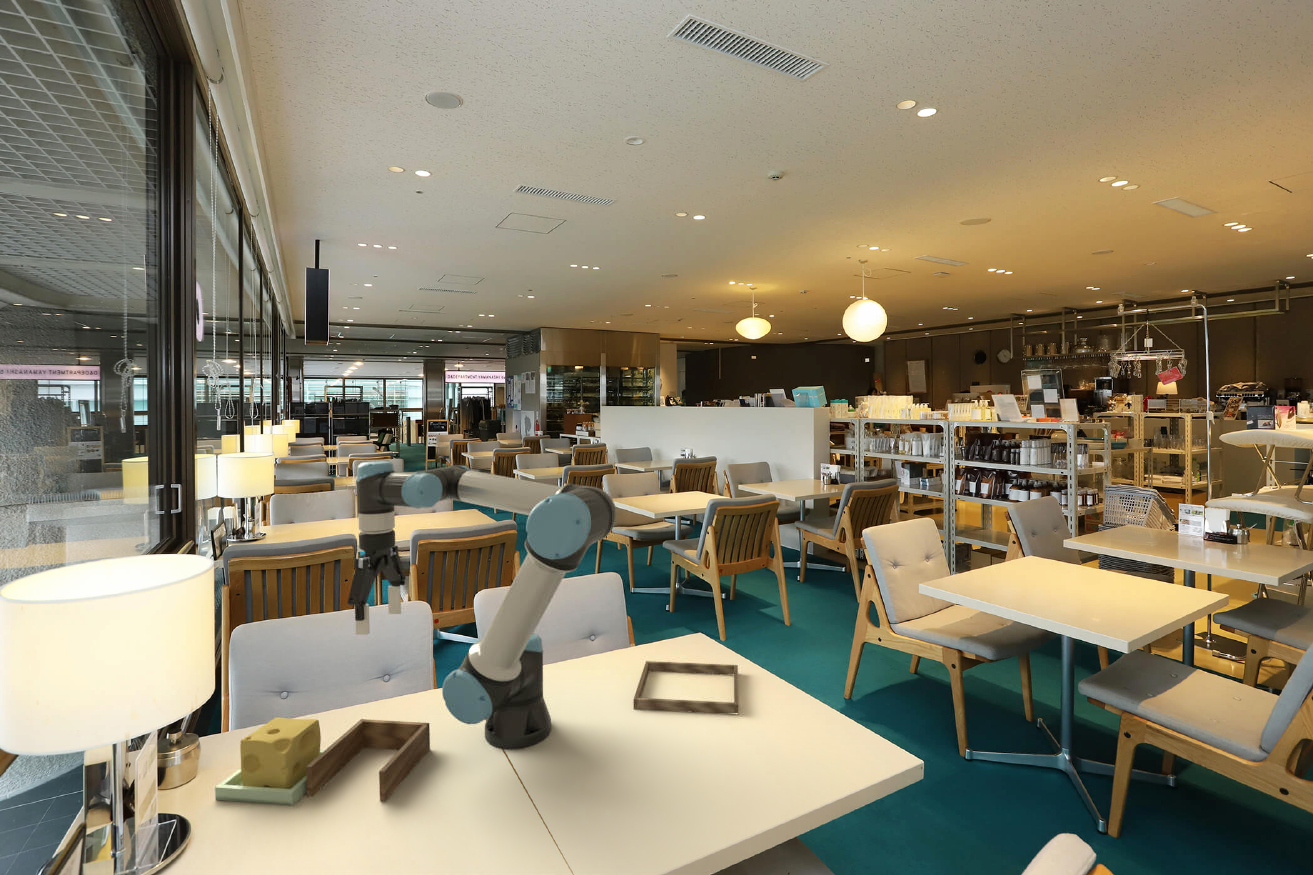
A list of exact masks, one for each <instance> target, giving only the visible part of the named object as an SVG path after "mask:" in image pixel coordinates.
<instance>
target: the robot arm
mask: <svg viewBox="0 0 1313 875" xmlns="http://www.w3.org/2000/svg"><path fill="white" fill-rule="evenodd" d="M355 483H356V487H357V490H356V491H357V512H358V516H357V519H358V530H359V531H360V532H359V533H358V548H359V549H360V550H361V551H363V552H364V556H363V557H357V558H355V562H354V563H355V564H354V565H355V566H354V572H353V577H352V581H351V582H352V583H351V585H350V591H349V595H348V599H347V605H348V606H354V616H355V617H354V618H355V619H354V621H355V635H361V636H362V635H364V636H366V635H367V636H369V635H370V632H371V631H370V630H371V629H370V605H369V603H368V599H369V596H370V593H371V590H372V588H373V585H374V582H375V579H376V578H377V577H378V576H379V575H380V573H383V575H384V577H385V578H386V580H387V582H388V583H389V585H388V587H387V595H388V596H387V598H388V601H387V602H388V603H387V604H388V615H400V614H402V600H401V599H402V597H401V596H402V594H401V590H402V589H401V586H405V585H406V578H407V576H406V573H405V570H404V567H403V564H402V561H401V558H400V555H399V554H400V553H399V546H398V545H396V531H395V530H394V529H395V527H396V520H395V516H396V515H395V507H405V508H406V507H407V508H415V509H421V508H432V507H435V505H436V504H437V503H438V502H442V501H443V502H444V501H447V500H452V501H457V502H461V503H468V504H473V505H478V506H483V507H488V508H491V509H497V510H502V511H506V512H512V513H515V514H522V515H525V516H526V515H527V516H528V517H527V519H526V523H525V525H526V526H525V532H527V533H526V534H527V536H526V539H525V541H524V549H525V550H526V553H527V554H526V556H525V558H524V560H523V562H522V563H521V566H520V567H519V569H518V572H517V574H516V575H515V577H514V579H513V581H512V583H511V585H510V587H509V589H508V591H507V593H506V595H505V596H504V599H503V600H502V603H501V604H500V606H499V607H498V609H497V611H496V614H495V616H494V617H493V619H492V621H491V623H490V626H489V627H488V629H487V631H486V633H485V634H484V637H483V638H482V640H479V641H476V642H475V643H474V644H472V645H471V647H470V648H469V650H468V652H467V654H466V655H465V658H464V659H463V661H462V663H461V665H460V666H459V667H458V668H457V669H454V670H453V671H451V672H450V673H449V674H448V675H447V676H446V677H445V679H444V681H443V683H442V689H441V692H442V699H443V700H444V703H445V707H446V708H447V710H448V712H449V713H450V714H451V715H452V717H453V718H455V719H456V720H458V721H459V722H461V723H463V724H466V725H477V724H480V723H481V722H483V721H485V722H484V739H485V740H486V742H488V744H490V745H492V746H494V747H497V748H500V749H501V748H502V749H521V748H526V747H530V746H534V745H536V744H539V743H540V742H542V741H544V740H545V739H546V738H547V737H548V736H549V735H550V733H551V731H552V718H551V715H550V712H549V709H548V706H547V703H546V701H545V698H544V649H543V641H542V638H541V637H540V636H539V635H538V634H537V633H535V631H536V629H537V627H538V625H539V623H540V622H541V619H542V618H543V615H544V614H545V613H546V611H547V609H548V607H549V605H550V603H551V601H552V599H553V597H554V595H555V593H556V592H557V590H558V589H559V586H560V585H561V583H562V580H563V579H564V577H565V576H566V573H572V572H574V571H575V570H577V569H578V567H579V565H580V564H581V562H582V560H583V558H584V556H585V554H586V552H587V551H588V549H589V547H590V546H591V545H593V544H595V543H597V542H600V541H601V540H603V539H604V538H606V537H607V536H608V535H610V533H611V532H612V531H613V529H614V527H615V524H616V521H617V510H616V508H617V507H616V504H615V502H614V500H613V498H612V497H611V496H610V495H609V493H607V492H606V491H604V490H602V489H601V488H599V487H595V486H588V485H582V484H581V485H579V484H574V483H566V484H565V485H564V484H563V486H559V485H554V484H552V485H551V484H548V483H542V482H535V481H531V480H525V479H524V480H523V479H521V478H519V479H518V478H514V477H510V476H509V477H508V476H503V475H498V474H493V473H486V472H480V471H476V470H472V469H471V468H469V467H468V466H467V465H455V464H454V465H449V466H445V467H438V468H433V469H426V470H425V469H424V470H417V471H411V472H410V471H409V472H408V471H406V472H404V471H403V472H402V471H395V469H394V464H393V463H392V462H391V461H387V460H386V461H385V460H384V461H383V460H381V461H379V460H378V461H365V462H361V463H360V464H359V465H358V466H357V473H356V482H355Z"/></svg>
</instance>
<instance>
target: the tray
mask: <svg viewBox="0 0 1313 875" xmlns="http://www.w3.org/2000/svg"><path fill="white" fill-rule="evenodd" d="M325 750H326V749H320V754H321V753H323V752H324V751H325ZM214 792H215V794H214V795H215V796H214V797H215V801H228V802H229V801H231V802H240V803H241V802H243V803H256V804H266V805H267V804H269V805H281V806H283V805H285V806H293V805H294V804H296V803H297V802H298V801H299V800H300V799H301V798H302V797H303V796H304V795H306V794H307V775H306V776H305V777H303V778H302V779H301V780H300V781H298V782H297V783H296V784H295V785H294V786H293V787H292V788H291V789H279V788H270V787H269V786H268V787H251V786H243V783H242V775H241V767H240V768H239V769H238V770H236V771H235V772H234V773H232V774H230V775H229V776H228V777H226V778H225V779H224V780H223V781H221V782H219V783H218V784H217V785H216V786H215V787H214Z"/></svg>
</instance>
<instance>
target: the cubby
mask: <svg viewBox="0 0 1313 875" xmlns="http://www.w3.org/2000/svg"><path fill="white" fill-rule="evenodd" d="M430 734H431V732H430V722H418V721H417V722H416V721H402V720H401V721H400V720H382V719H381V720H380V719H363V718H361V719H360V720H358V721H356V723H355V724H353V725H352V726H351V727H350V728H349V729H348V730H347V731H345V733H343V734H342V735H340V737H339V738H337V739H336V740H335V741H334V742H332V744H331V745H330V746H328V747H327V748H326V749H324V750H325V751H324V752H323V753H321V754H320V755H319V756H318V757H317V758H316V759H314V760H313V761H312V762H311V763H310V764H309V765H308V766H306V771H307V792H306V794H307V797H313V796H315V795H316V794H317V793H318V792H319V791H320V790H321V789H322V788H323V787H324V786H325V785H326V784H327V783H328V782H329V781H330V780H331V779H333V777H335V775H336V774H338V773H339V772H340V771H341V770H342V769H343V768H344V767H345V766H346V765H347V764H348V763H349V762H350V761H352V760H353V759H354V757H356V755H358V754H359V753H360V752H361V751H362V750H363V749H378V750H392V751H395V750H396V753H395V754H393V756H392V757H391V758H390V759H389V760H388V761H387V762H386V763H385V764H384V765H383V766H382V768H381V769H379V770H378V780H379V781H378V782H379V802H384V803H385V802H386V801H387V800H388V799H389V798H390V796H391V795H392V794H393V793H394V792H395V791H396V789H398V788H399V787H400V785H401V783H403V782H404V780H405V779H406V778H407V777H408V775H409V774H410V773H412V771H413V770H414V769H415V767H417V765H418V764H419V763H420V762H421V760H422V759H423V758H424V757H425V756H426V755H427V754H428V752H429V751H430V750H431V738H430V737H431V736H430Z"/></svg>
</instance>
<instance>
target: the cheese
mask: <svg viewBox="0 0 1313 875" xmlns="http://www.w3.org/2000/svg"><path fill="white" fill-rule="evenodd" d="M321 734H322V733H321V728H320V721H319V719H315V718H314V719H313V718H312V719H311V718H309V719H306V718H305V719H299V718H286V717H275V718H273V719H271V720H270V721H268V722H267V723H265V724H263V726H261V727H260V728H258V729H256V730H255V731H252V733H250V734H249V735H247V736H245V737H243V738H242V739H241V740H240V743H239V744H240V768H241V775H242V783H243V786H251V787H268V786H269V787H270V788H279V789H291V788H292V787H293V786H294V785H295V784H296V783H297V782H298V781H300V780H301V779H302V778H303V777H305V776H306V775H307V771H306V766H308V765H309V764H310V763H311V762H312V761H313V760H314V759H316V758H317V757H318V756H319V755H320V750H321V744H322V742H321V740H322V739H321V738H322V736H321Z"/></svg>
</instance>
